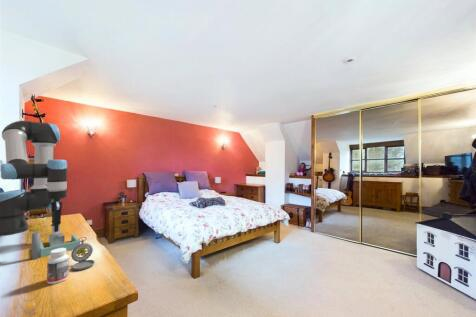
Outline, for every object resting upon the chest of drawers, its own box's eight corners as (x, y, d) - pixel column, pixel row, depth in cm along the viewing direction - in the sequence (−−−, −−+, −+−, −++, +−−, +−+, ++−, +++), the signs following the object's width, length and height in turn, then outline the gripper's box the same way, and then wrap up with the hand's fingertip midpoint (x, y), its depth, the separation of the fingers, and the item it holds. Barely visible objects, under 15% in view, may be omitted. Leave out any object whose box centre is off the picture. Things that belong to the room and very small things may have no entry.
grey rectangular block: (48, 243, 100) (48, 235, 100) (62, 240, 104) (62, 232, 104) (50, 247, 96) (50, 238, 96) (64, 244, 99) (64, 235, 99)
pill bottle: (42, 282, 67) (43, 252, 67) (62, 274, 72) (62, 245, 72) (53, 286, 65) (53, 254, 65) (72, 277, 70) (72, 248, 70)
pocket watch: (82, 272, 73) (83, 243, 74) (63, 269, 75) (64, 241, 75) (102, 261, 81) (102, 235, 82) (84, 259, 83) (84, 234, 83)
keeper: (29, 249, 93) (30, 227, 93) (73, 240, 104) (74, 220, 105) (31, 260, 83) (32, 234, 83) (80, 248, 94) (80, 226, 94)
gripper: (45, 190, 105) (44, 236, 104) (48, 192, 96) (46, 243, 96) (64, 188, 111) (63, 233, 110) (68, 190, 102) (67, 239, 101)
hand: (55, 237), depth 103 cm, fingers closed
